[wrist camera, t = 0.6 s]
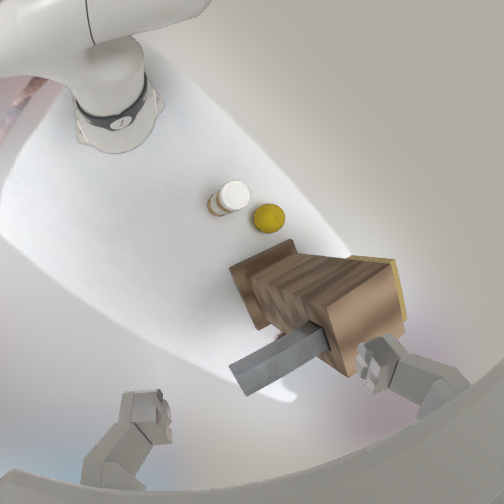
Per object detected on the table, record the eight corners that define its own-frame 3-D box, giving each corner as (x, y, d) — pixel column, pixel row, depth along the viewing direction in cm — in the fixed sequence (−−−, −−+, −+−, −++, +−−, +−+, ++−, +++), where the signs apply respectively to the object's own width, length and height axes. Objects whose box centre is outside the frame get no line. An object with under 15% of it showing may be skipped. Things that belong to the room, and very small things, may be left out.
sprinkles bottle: (232, 197, 54) (255, 185, 41) (226, 219, 54) (246, 214, 41) (210, 190, 53) (226, 175, 40) (203, 212, 52) (217, 204, 40)
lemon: (276, 209, 57) (294, 205, 49) (271, 236, 57) (288, 235, 49) (251, 203, 55) (265, 197, 48) (246, 230, 55) (259, 229, 48)
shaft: (228, 365, 30) (235, 377, 27) (383, 272, 36) (398, 274, 34) (238, 384, 30) (246, 396, 28) (387, 290, 37) (402, 293, 34)
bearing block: (228, 268, 54) (303, 299, 26) (289, 239, 58) (397, 241, 30) (256, 328, 57) (338, 398, 28) (310, 297, 60) (415, 335, 32)
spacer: (344, 259, 39) (387, 264, 31) (351, 255, 40) (394, 259, 31) (360, 311, 41) (400, 324, 32) (366, 306, 41) (407, 318, 33)
